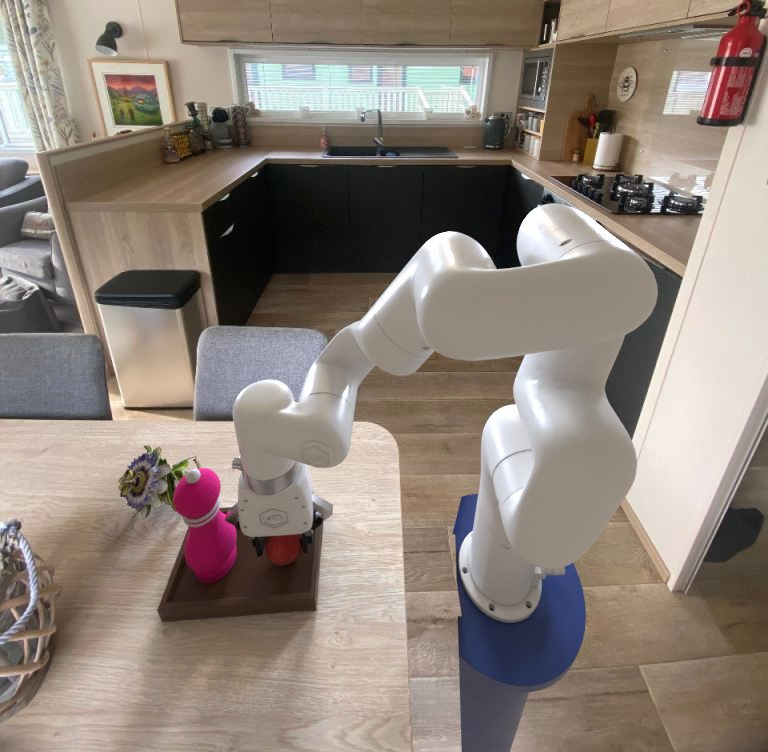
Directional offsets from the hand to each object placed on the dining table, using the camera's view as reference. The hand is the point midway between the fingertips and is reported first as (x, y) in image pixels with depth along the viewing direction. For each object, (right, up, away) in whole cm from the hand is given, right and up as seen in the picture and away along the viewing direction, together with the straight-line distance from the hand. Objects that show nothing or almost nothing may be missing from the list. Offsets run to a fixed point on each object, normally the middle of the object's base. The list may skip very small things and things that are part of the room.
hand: (284, 543), depth 60 cm
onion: (0, -3, +1) cm, 3 cm away
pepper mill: (-11, -3, +1) cm, 11 cm away
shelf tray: (-5, -4, +1) cm, 7 cm away
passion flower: (-25, 0, +11) cm, 28 cm away
